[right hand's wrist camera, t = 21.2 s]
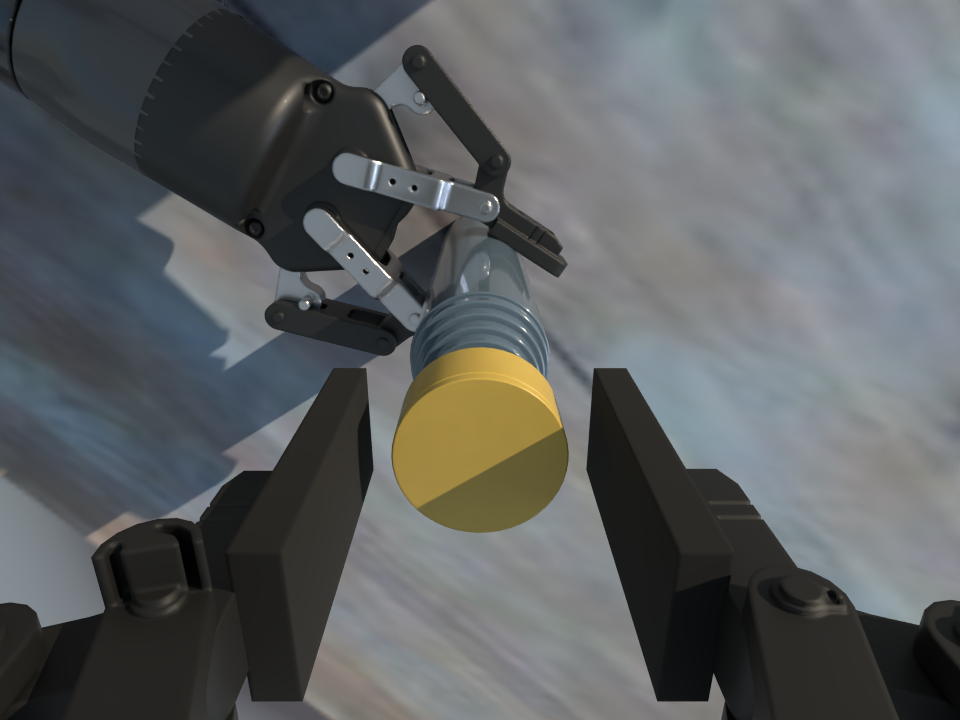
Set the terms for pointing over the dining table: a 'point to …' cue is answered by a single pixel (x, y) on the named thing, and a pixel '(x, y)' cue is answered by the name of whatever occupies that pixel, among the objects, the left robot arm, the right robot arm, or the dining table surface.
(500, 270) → the bottle
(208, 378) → the dining table surface
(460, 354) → the cap
